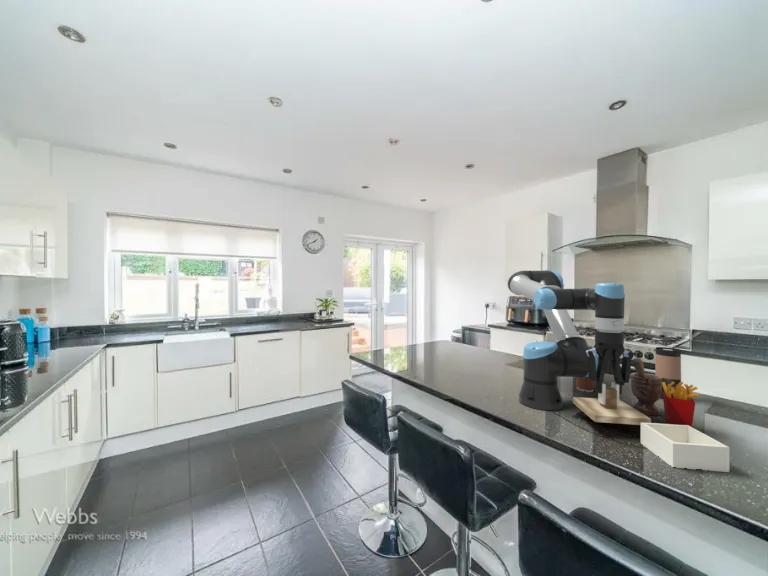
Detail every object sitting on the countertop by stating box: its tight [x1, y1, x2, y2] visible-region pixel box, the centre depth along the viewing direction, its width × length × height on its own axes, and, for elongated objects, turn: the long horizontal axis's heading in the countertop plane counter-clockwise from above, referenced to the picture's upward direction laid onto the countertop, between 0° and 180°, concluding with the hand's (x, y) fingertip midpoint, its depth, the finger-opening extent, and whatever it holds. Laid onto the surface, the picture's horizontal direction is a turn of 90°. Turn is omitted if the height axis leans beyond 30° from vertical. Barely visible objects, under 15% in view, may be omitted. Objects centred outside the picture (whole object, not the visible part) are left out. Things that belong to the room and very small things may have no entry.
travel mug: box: [654, 346, 682, 400], centre depth 123 cm, size 8×8×20 cm
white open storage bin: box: [640, 422, 730, 473], centre depth 81 cm, size 12×12×6 cm
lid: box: [572, 386, 652, 426], centre depth 98 cm, size 15×15×8 cm
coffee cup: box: [575, 377, 596, 393], centre depth 134 cm, size 9×9×12 cm
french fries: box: [662, 380, 701, 428], centre depth 96 cm, size 9×8×15 cm
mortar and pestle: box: [630, 357, 662, 416], centre depth 109 cm, size 12×9×20 cm
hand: (608, 403), depth 98 cm, fingers closed on lid, 3 cm apart
